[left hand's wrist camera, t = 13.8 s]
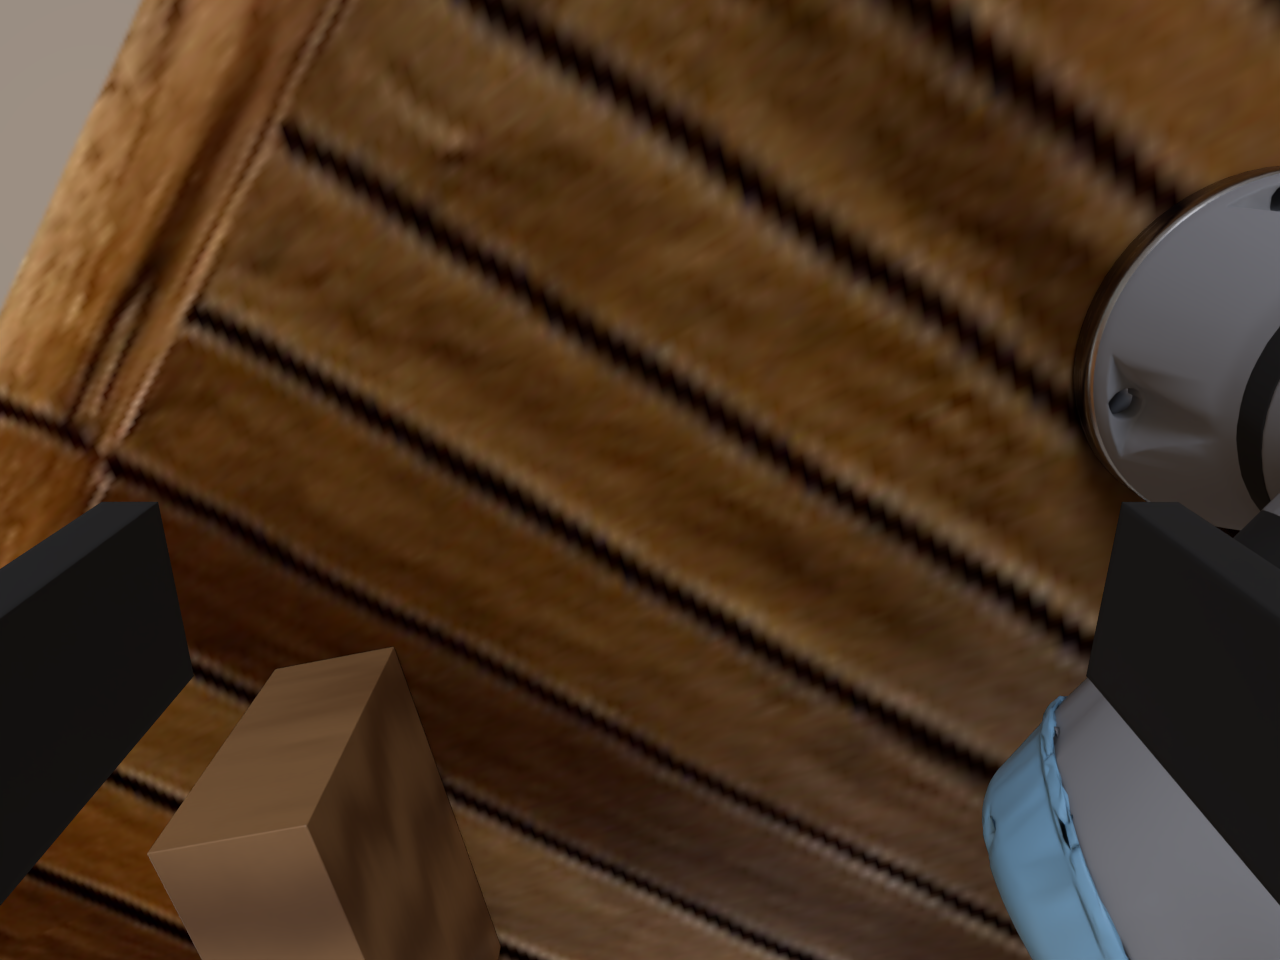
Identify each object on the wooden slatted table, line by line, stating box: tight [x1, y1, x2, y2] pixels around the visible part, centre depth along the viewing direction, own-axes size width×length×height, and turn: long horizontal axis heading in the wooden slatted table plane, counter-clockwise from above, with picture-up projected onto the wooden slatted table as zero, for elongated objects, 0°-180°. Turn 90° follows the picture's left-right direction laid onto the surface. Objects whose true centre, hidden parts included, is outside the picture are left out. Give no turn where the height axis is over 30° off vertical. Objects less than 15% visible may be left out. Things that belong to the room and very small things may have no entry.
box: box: [148, 647, 500, 960], centre depth 42 cm, size 20×6×12 cm, turn 12°
